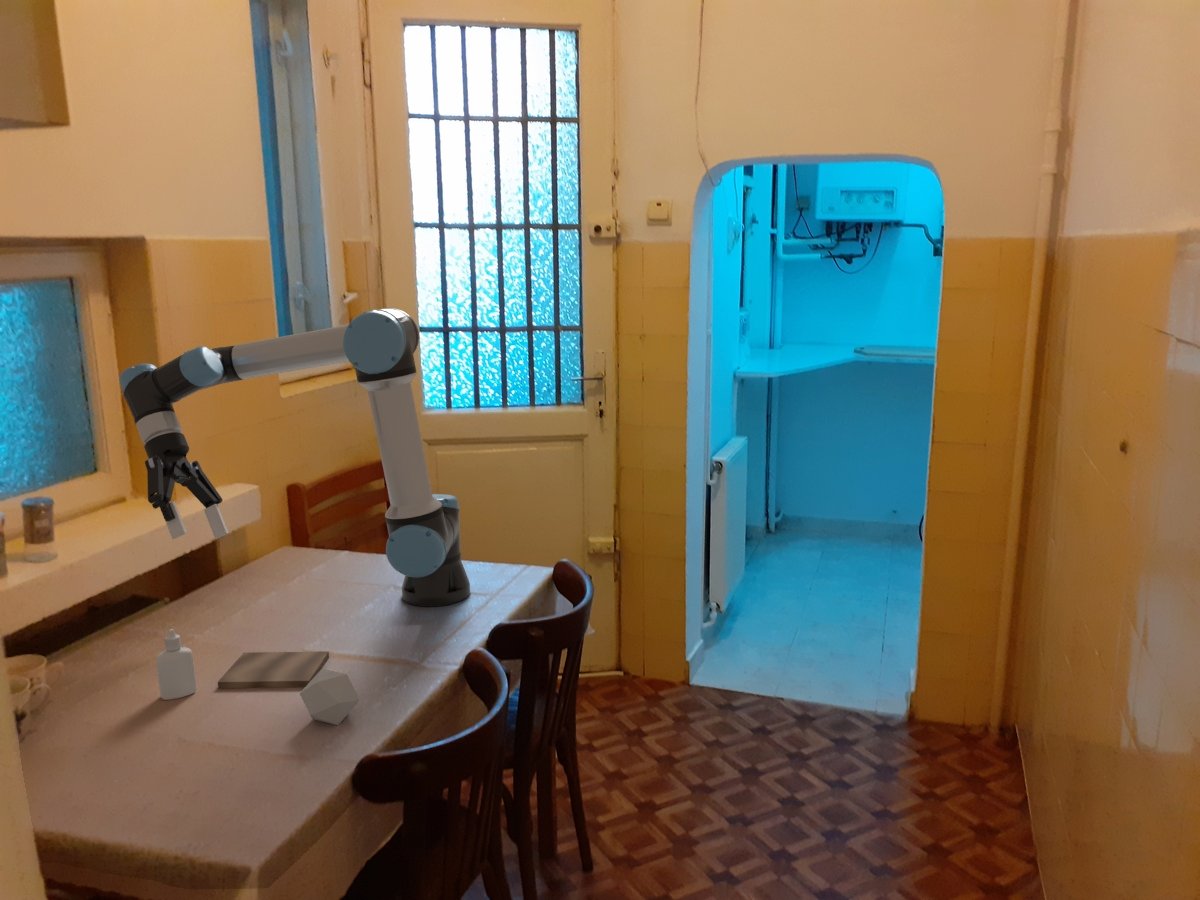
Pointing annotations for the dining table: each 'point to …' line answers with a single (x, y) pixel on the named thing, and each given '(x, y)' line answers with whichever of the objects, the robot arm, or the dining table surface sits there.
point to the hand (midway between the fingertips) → (201, 536)
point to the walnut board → (274, 669)
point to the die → (329, 696)
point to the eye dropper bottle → (175, 669)
